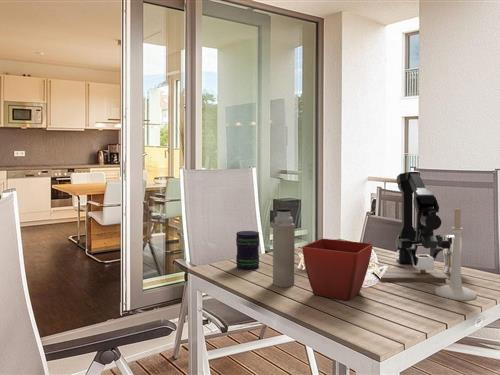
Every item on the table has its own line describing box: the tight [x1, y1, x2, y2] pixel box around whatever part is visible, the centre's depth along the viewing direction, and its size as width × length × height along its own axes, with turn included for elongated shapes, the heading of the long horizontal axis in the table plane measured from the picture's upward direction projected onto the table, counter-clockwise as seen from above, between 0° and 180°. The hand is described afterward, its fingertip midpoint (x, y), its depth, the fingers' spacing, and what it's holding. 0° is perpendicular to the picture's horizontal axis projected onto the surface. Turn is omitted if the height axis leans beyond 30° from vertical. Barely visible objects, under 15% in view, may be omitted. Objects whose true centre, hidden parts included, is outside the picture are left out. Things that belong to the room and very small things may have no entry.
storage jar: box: [235, 230, 260, 272], centre depth 186 cm, size 10×10×15 cm
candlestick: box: [434, 207, 477, 301], centre depth 149 cm, size 13×13×30 cm
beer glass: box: [442, 234, 463, 275], centre depth 178 cm, size 7×7×15 cm
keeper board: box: [380, 267, 447, 283], centre depth 172 cm, size 14×24×7 cm, turn 88°
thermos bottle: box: [272, 207, 296, 288], centre depth 162 cm, size 8×8×28 cm
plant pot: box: [302, 238, 373, 301], centre depth 151 cm, size 19×19×17 cm
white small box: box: [412, 254, 435, 271], centre depth 172 cm, size 6×6×4 cm
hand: (423, 265), depth 172 cm, fingers closed on white small box, 6 cm apart
